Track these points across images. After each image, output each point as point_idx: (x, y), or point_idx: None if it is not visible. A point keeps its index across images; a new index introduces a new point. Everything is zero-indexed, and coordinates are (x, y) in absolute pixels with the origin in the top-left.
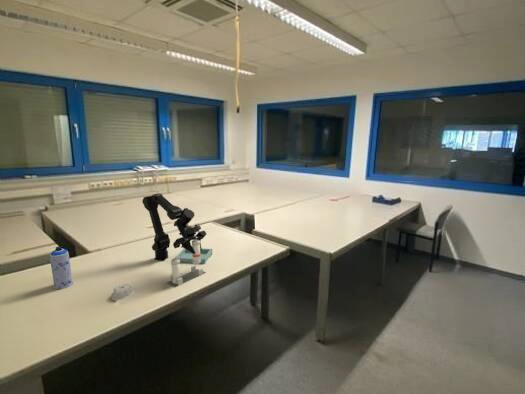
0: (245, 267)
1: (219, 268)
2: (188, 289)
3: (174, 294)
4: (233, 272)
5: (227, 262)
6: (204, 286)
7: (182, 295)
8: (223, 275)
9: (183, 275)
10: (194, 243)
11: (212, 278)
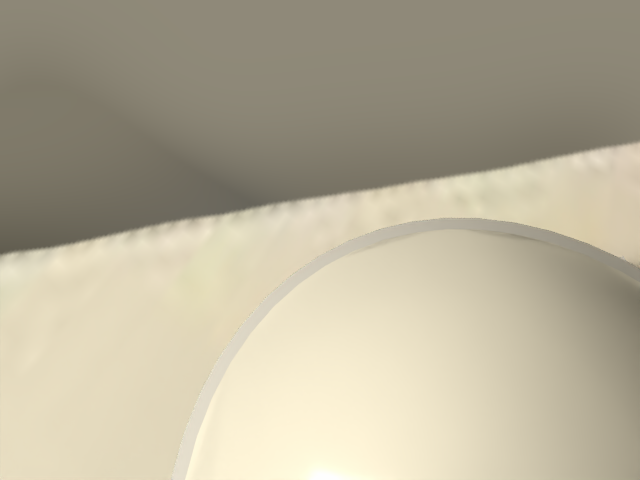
0: (6, 260)
1: (148, 376)
2: (511, 210)
3: (623, 203)
4: (123, 244)
5: (10, 448)
6: (395, 186)
7: (568, 165)
8: (205, 246)
9: None
10: (631, 311)
11: (294, 252)
